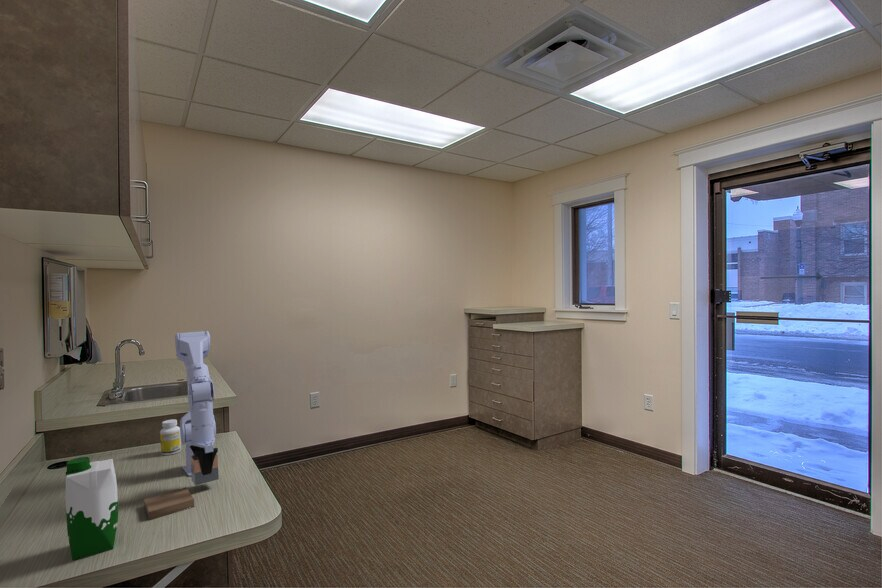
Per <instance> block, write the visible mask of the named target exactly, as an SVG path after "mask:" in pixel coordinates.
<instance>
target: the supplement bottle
mask: <svg viewBox="0 0 882 588" xmlns="http://www.w3.org/2000/svg"><path fill="white" fill-rule="evenodd" d="M161 427H162V429H160V431H159V436H160V440H159V441H160V452H161V455H162V456H171V455H176V454H178V453H180V452H181V451H182V442H181V436H180V426H178V420H177V419H175V418H174V419H172V418H171V419H167V420H164V421H162V422H161Z"/></svg>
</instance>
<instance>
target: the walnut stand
mask: <svg viewBox="0 0 882 588" xmlns="http://www.w3.org/2000/svg"><path fill="white" fill-rule="evenodd" d="M193 506H194V507H195V499H194V497H193V495H192V494H191V492H190V490H189V489H188V488H187V487H183V488H179V489H175V490H172V491H169V492H168V491H167V492H165V493H161V494H156V495H154V496H149V497H146V498H143V507H144V510H145V513H146V514H147V517H148V520H149V521H151V520H154V519H158V518H161V517H165V516H167V515H171V514H175V513H179V512H182V511H184V509H185V510H188V509H190V508H189V507H191V508H194V507H193ZM187 508H188V509H187Z"/></svg>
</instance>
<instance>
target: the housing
mask: <svg viewBox="0 0 882 588" xmlns="http://www.w3.org/2000/svg"><path fill="white" fill-rule="evenodd" d="M218 458H219V456H218V454H217V453H216V456H215V458H214V462H213V467H212V472H211V474H207V475H203V474H202V471H201V466H200V462H199V459H198V457H197V455H193V456H191V482H192V483H193V484H194V485H195V486H199V485H203V484H206V483H210V482H214V481H217V480H219V479H220V476H219V461H218Z"/></svg>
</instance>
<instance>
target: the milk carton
mask: <svg viewBox="0 0 882 588" xmlns="http://www.w3.org/2000/svg"><path fill="white" fill-rule="evenodd" d="M90 460H91V459H90V457H88V456H82V457H76V458H73V459H71V460H68V461H67V462H65V463H66V465H65V466H66V471H65V511H66V514H65V515H66V532H67V540H68V545H69V549H70V554H71V559H72V561H74V560H77V559H81V558H85V557H89V556H92V555H97V554H100V553H103V552H107V551H111V550H114V546H115V541H116V535H117V530H118V522H119V496H118V495H119V494H118V483H117V475H116V470H115V465H114V459H113V458H110V459H105V460H104V459H103V460H95V461H90Z"/></svg>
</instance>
